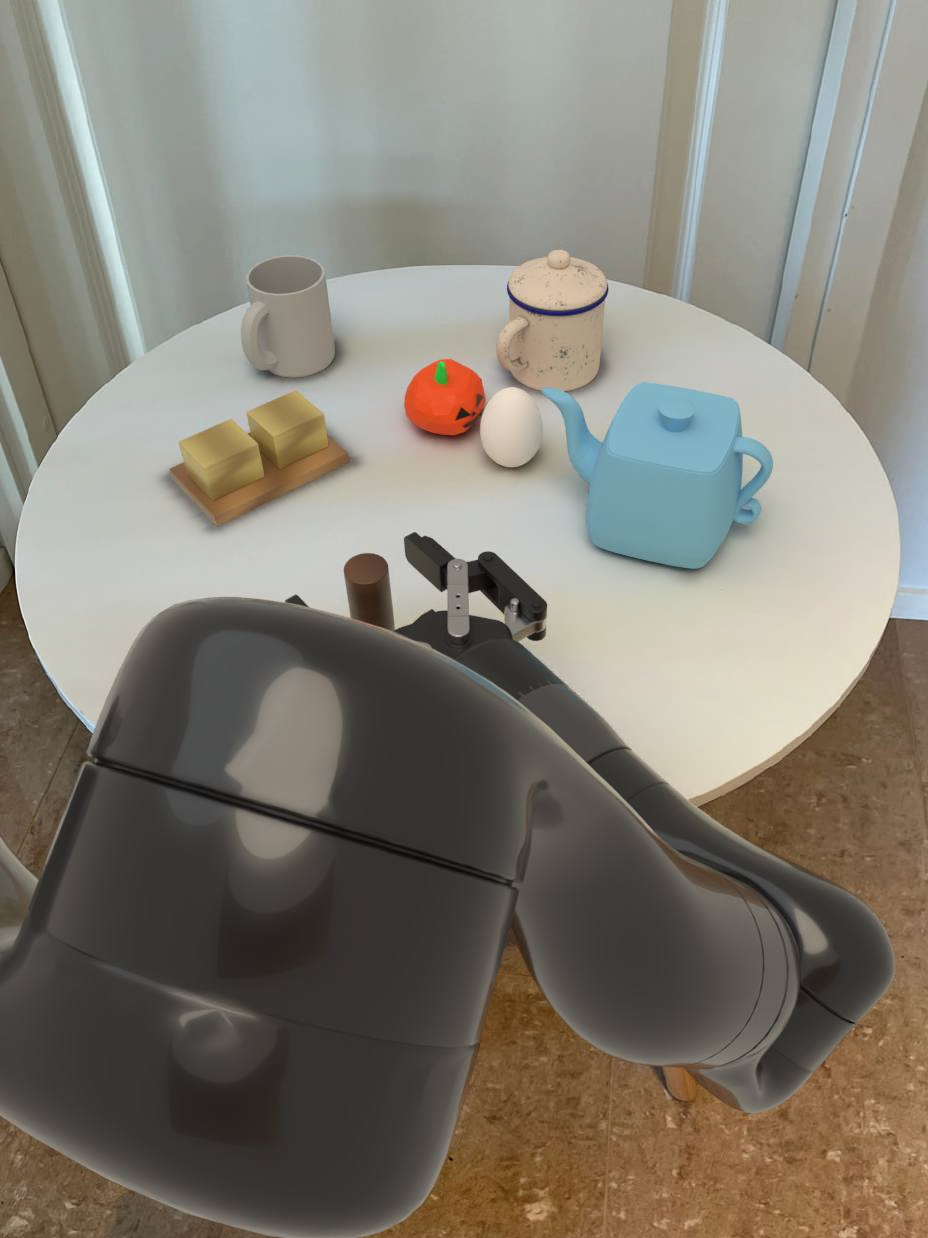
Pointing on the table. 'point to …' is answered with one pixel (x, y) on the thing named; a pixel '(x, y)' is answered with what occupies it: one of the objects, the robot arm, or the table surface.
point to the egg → (511, 427)
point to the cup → (288, 317)
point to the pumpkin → (445, 398)
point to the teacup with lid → (554, 322)
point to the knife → (369, 590)
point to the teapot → (665, 473)
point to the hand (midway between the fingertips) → (351, 575)
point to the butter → (256, 458)
